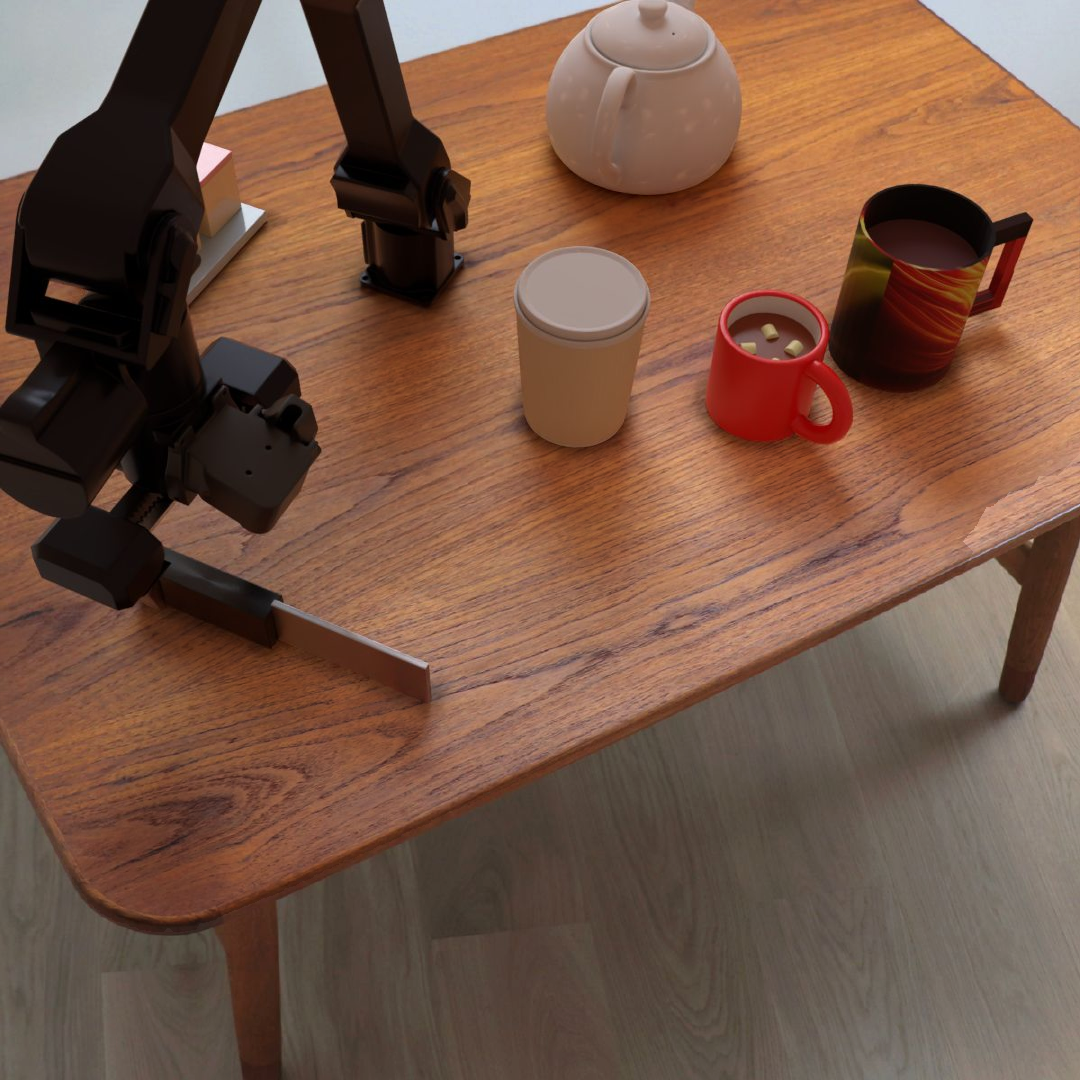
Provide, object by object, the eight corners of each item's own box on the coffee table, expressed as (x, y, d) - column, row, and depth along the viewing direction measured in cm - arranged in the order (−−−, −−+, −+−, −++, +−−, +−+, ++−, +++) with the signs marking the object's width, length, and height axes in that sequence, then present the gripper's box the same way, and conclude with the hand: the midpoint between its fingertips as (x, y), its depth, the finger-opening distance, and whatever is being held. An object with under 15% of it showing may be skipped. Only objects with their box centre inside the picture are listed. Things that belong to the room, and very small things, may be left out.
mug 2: (998, 315, 109) (1046, 193, 100) (913, 411, 102) (956, 290, 93) (893, 263, 113) (929, 140, 103) (804, 353, 106) (834, 230, 97)
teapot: (501, 112, 124) (502, -29, 113) (679, 67, 129) (695, -72, 119) (592, 235, 114) (601, 93, 103) (780, 180, 119) (808, 40, 108)
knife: (438, 687, 87) (435, 652, 83) (421, 714, 85) (419, 680, 82) (160, 571, 92) (148, 534, 89) (141, 595, 90) (129, 558, 87)
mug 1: (806, 490, 97) (827, 415, 91) (683, 400, 103) (695, 322, 96) (874, 435, 101) (899, 359, 95) (752, 350, 106) (768, 273, 100)
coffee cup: (652, 383, 104) (667, 261, 94) (616, 470, 98) (628, 350, 89) (536, 353, 105) (540, 229, 96) (494, 437, 100) (494, 315, 90)
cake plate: (267, 220, 114) (256, 154, 109) (186, 307, 107) (170, 242, 102) (147, 179, 117) (131, 113, 112) (61, 262, 110) (39, 196, 105)
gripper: (175, 554, 66) (227, 719, 78) (367, 314, 76) (385, 493, 88) (-12, 476, 68) (66, 647, 81) (198, 255, 79) (239, 436, 91)
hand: (199, 552), depth 85 cm, fingers open, 9 cm apart
